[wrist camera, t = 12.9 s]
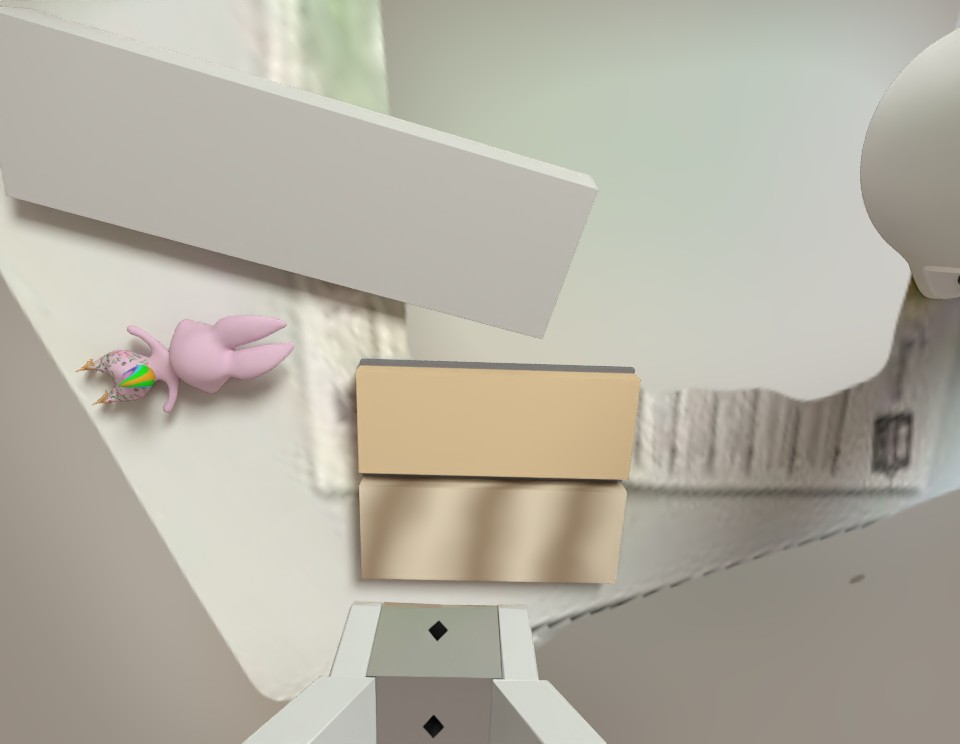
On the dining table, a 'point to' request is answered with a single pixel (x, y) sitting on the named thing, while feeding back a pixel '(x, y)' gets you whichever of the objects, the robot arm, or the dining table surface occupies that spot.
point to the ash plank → (490, 529)
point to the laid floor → (495, 420)
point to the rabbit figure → (193, 358)
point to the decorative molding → (282, 175)
